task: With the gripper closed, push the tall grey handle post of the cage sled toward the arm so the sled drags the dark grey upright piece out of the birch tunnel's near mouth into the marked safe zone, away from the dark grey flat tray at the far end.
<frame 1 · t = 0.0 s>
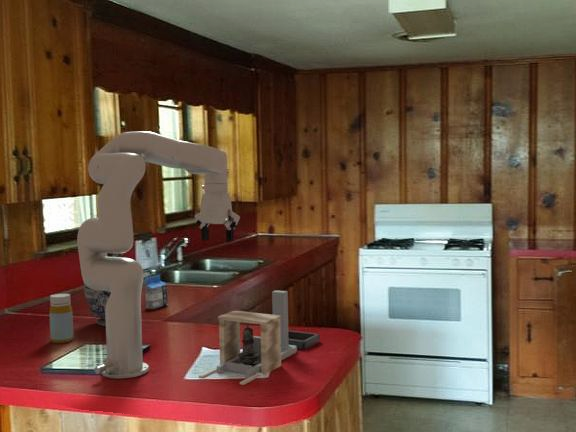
hand: (217, 241, 224), 31 cm above the worktop, tool pointing down, fingers open, 9 cm apart
label tape box: (156, 307, 272), on the worktop
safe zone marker: (230, 376, 183), on the worktop
sled: (259, 330, 195), point 9 cm above the worktop, slide at 0.0 cm
bottle: (62, 341, 222), on the worktop
dark grey upright piece: (248, 367, 190), resting in sled
decorative vase: (112, 323, 246), on the worktop
dark grey flat tray: (295, 343, 214), on the worktop
tunnel: (250, 366, 191), on the worktop
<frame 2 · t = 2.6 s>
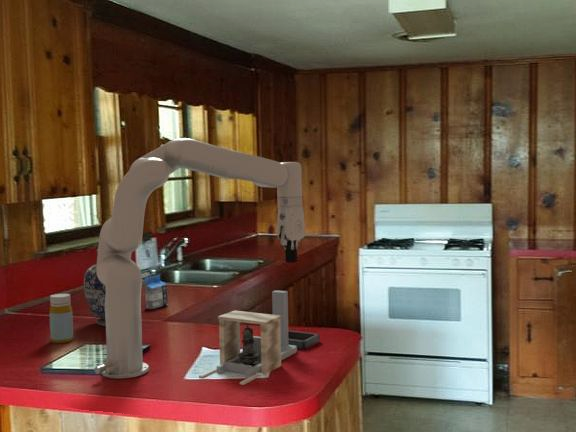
hand: (291, 261, 210), 26 cm above the worktop, tool pointing down, fingers closed
nothing on the worktop moved.
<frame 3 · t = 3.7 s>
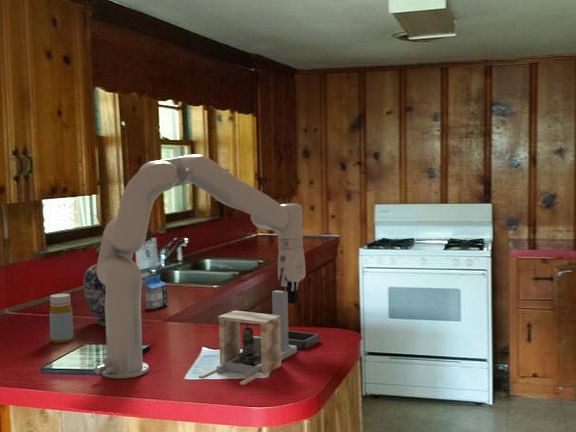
hand: (291, 302, 211), 13 cm above the worktop, tool pointing down, fingers closed
nothing on the worktop moved.
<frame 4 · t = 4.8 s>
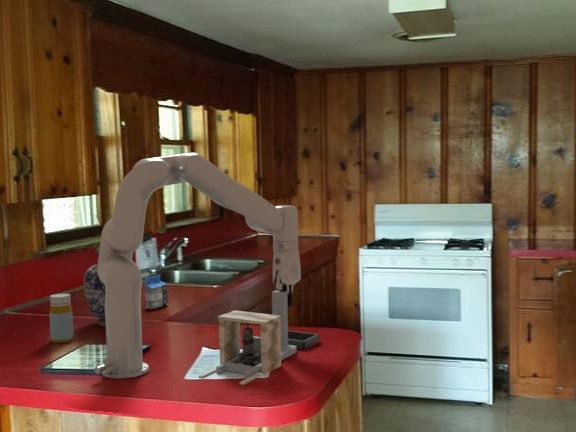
hand: (286, 305, 208), 13 cm above the worktop, tool pointing down, fingers closed
sled: (258, 330, 195), point 9 cm above the worktop, slide at -0.2 cm, touching gripper
everything else where it was.
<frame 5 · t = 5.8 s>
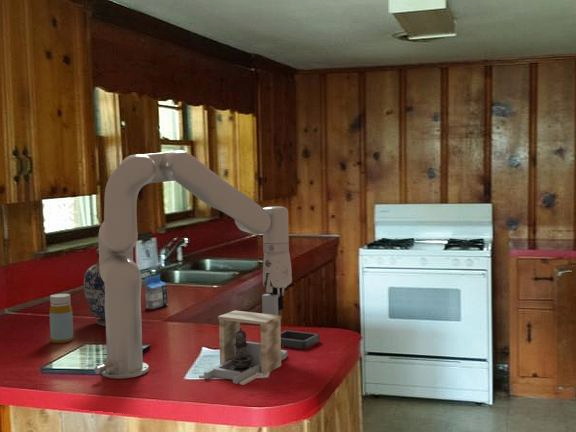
hand: (277, 309, 204), 13 cm above the worktop, tool pointing down, fingers closed
sled: (248, 334, 190), point 9 cm above the worktop, slide at -5.8 cm, touching gripper, dark grey upright piece
dark grey upright piece: (241, 371, 187), resting in sled
everything else where it was.
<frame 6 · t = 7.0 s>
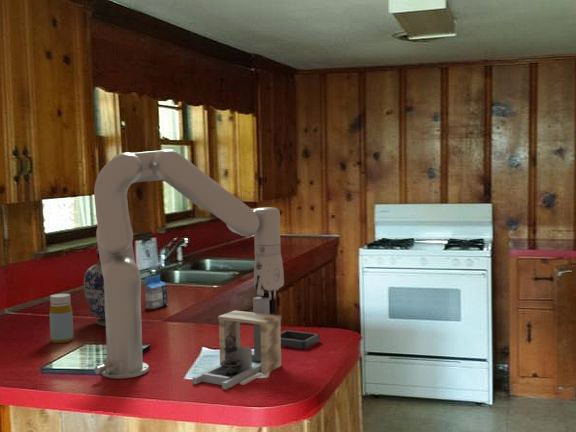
hand: (268, 312, 199), 13 cm above the worktop, tool pointing down, fingers closed
sled: (238, 339, 185), point 9 cm above the worktop, slide at -10.7 cm, touching gripper, dark grey upright piece
dark grey upright piece: (231, 376, 183), resting in sled
everything else where it was.
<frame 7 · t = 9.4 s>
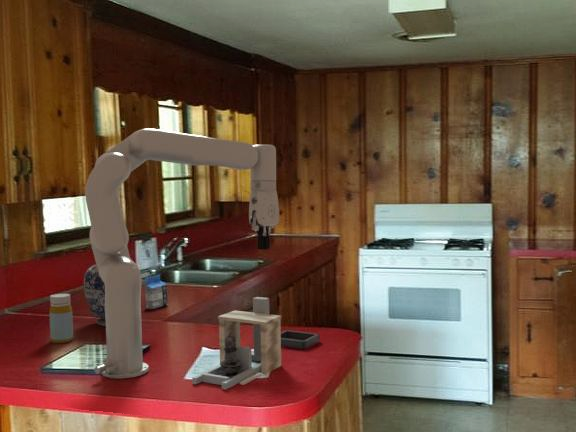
hand: (263, 249, 201), 31 cm above the worktop, tool pointing down, fingers closed
sled: (238, 339, 185), point 9 cm above the worktop, slide at -10.8 cm
dark grey upright piece: (231, 376, 183), resting in sled
everything else where it was.
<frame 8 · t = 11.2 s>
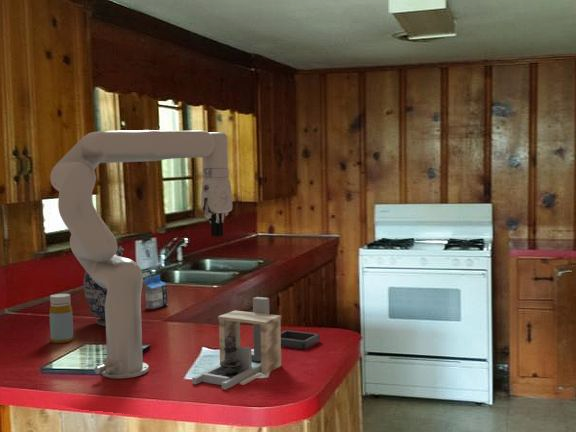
hand: (217, 236, 203), 35 cm above the worktop, tool pointing down, fingers closed
nothing on the worktop moved.
at the end: dark grey upright piece inside the target area (0.2 cm from its centre), resting in sled; dark grey upright piece tilted 0°; sled slide at -10.8 cm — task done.
